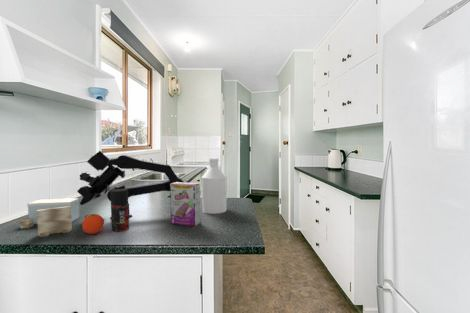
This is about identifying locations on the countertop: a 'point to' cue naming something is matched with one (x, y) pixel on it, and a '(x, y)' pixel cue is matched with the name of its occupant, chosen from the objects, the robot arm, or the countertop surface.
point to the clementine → (92, 223)
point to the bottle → (214, 189)
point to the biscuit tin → (53, 204)
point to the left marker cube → (27, 223)
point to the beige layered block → (54, 220)
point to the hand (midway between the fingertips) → (81, 204)
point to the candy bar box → (185, 203)
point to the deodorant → (119, 210)
